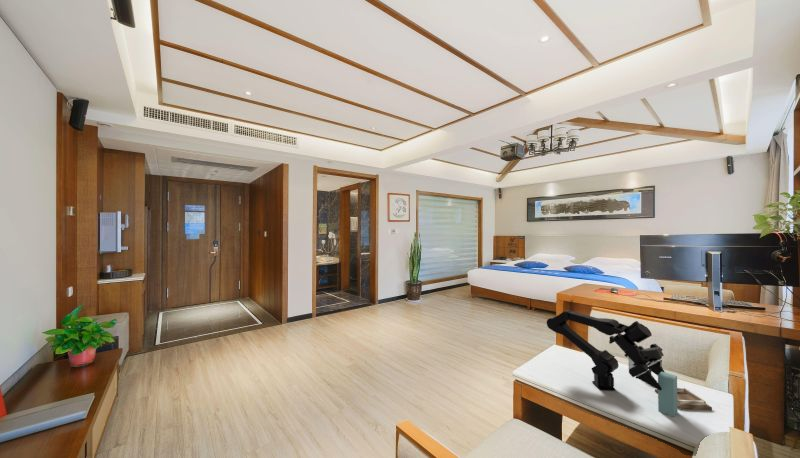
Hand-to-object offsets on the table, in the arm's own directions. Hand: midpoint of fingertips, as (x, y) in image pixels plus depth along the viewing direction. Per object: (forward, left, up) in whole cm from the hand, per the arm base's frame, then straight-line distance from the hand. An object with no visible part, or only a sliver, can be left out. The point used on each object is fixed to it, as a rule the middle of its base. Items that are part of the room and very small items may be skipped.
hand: (665, 385), depth 114 cm
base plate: (+11, +7, -10) cm, 17 cm away
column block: (0, -1, -10) cm, 10 cm away
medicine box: (+8, +28, -10) cm, 31 cm away
